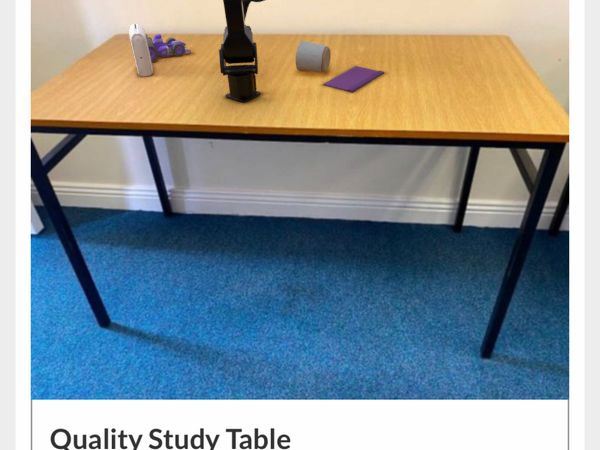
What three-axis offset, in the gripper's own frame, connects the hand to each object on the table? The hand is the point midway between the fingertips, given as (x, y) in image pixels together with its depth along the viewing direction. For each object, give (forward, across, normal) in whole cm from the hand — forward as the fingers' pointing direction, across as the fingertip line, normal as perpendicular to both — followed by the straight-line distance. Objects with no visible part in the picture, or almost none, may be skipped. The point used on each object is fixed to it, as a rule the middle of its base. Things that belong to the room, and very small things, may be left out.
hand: (241, 25), depth 126 cm
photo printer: (+12, +24, +16) cm, 31 cm away
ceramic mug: (+12, -16, -11) cm, 23 cm away
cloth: (+12, -29, -11) cm, 33 cm away
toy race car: (+12, +30, +4) cm, 33 cm away
